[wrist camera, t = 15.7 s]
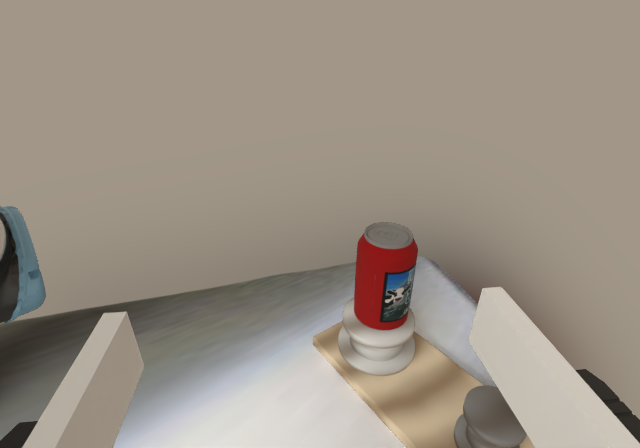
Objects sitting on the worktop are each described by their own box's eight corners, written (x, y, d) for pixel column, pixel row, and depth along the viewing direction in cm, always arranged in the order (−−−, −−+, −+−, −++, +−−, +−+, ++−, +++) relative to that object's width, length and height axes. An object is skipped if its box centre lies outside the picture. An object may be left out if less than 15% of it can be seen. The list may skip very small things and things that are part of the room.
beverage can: (400, 342, 42) (413, 255, 36) (345, 325, 44) (349, 241, 38) (412, 306, 47) (424, 225, 41) (362, 293, 49) (368, 215, 44)
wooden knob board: (313, 344, 50) (312, 308, 47) (376, 310, 56) (380, 276, 53) (504, 555, 30) (526, 515, 27) (571, 466, 36) (595, 425, 33)
